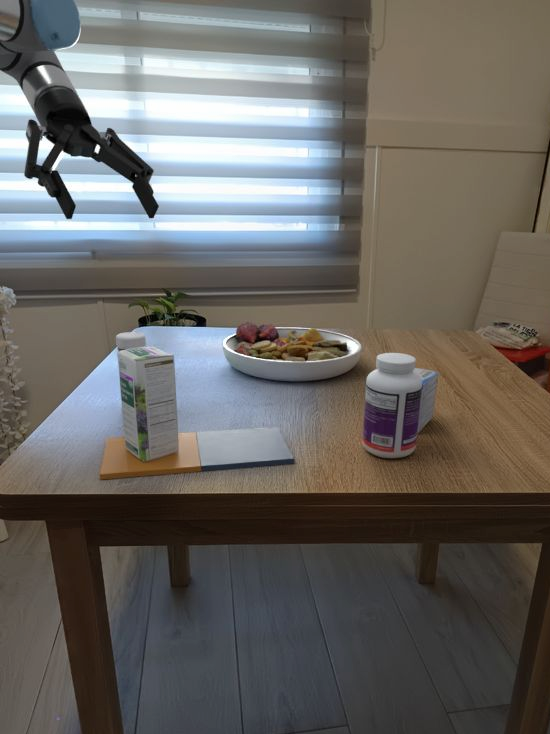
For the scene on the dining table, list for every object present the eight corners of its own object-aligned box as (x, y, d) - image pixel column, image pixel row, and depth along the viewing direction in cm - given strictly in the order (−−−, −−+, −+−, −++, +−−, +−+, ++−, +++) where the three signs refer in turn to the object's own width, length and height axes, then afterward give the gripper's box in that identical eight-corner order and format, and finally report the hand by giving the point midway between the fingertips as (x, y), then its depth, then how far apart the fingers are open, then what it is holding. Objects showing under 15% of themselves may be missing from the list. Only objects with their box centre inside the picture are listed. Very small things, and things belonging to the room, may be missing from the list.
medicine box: (408, 414, 101) (413, 366, 98) (433, 419, 99) (439, 371, 96) (392, 429, 95) (397, 378, 91) (418, 434, 93) (424, 383, 89)
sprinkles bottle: (151, 416, 96) (144, 337, 91) (122, 418, 95) (114, 338, 90) (151, 406, 100) (145, 330, 95) (123, 408, 99) (116, 331, 94)
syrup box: (123, 449, 82) (113, 350, 76) (161, 439, 85) (154, 344, 80) (143, 463, 78) (134, 360, 72) (181, 452, 82) (175, 353, 76)
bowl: (380, 359, 133) (383, 326, 130) (321, 396, 108) (322, 355, 105) (270, 341, 145) (270, 310, 142) (194, 370, 120) (192, 333, 117)
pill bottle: (404, 437, 91) (413, 349, 86) (423, 459, 84) (434, 364, 79) (355, 440, 90) (361, 350, 84) (370, 462, 82) (377, 366, 77)
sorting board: (100, 479, 75) (99, 474, 75) (107, 442, 86) (106, 437, 85) (294, 463, 81) (294, 458, 81) (278, 430, 92) (278, 426, 92)
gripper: (122, 133, 102) (175, 227, 99) (-31, 117, 85) (26, 231, 82) (136, 97, 97) (192, 195, 93) (-26, 73, 80) (36, 192, 76)
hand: (115, 212), depth 88 cm, fingers open, 13 cm apart
